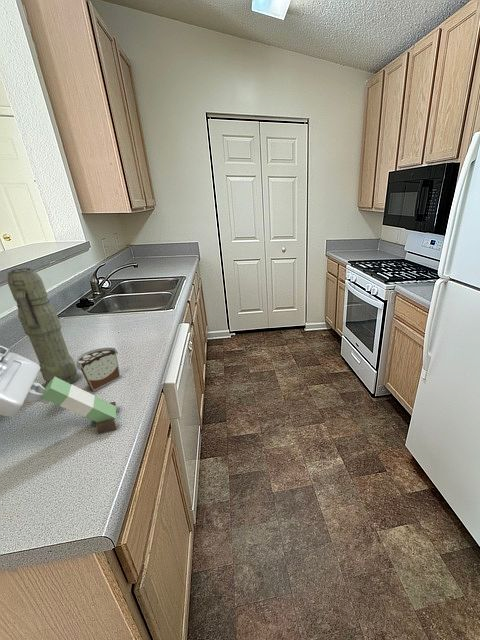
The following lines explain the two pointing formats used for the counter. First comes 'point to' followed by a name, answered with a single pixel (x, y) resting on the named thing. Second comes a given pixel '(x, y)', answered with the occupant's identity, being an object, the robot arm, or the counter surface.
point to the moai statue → (41, 325)
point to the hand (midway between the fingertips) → (50, 398)
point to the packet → (78, 401)
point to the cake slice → (99, 367)
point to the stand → (107, 424)
